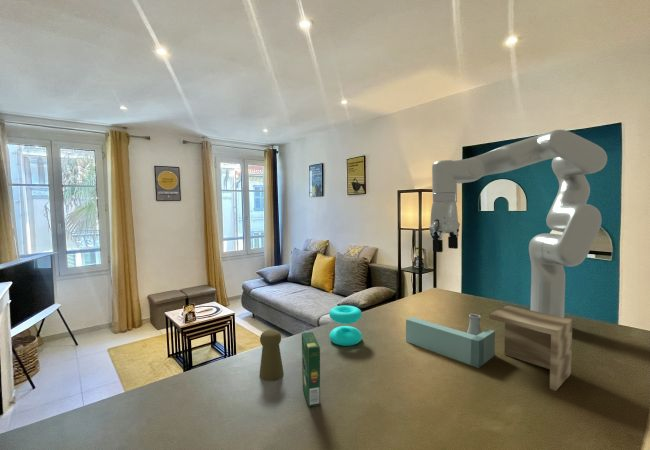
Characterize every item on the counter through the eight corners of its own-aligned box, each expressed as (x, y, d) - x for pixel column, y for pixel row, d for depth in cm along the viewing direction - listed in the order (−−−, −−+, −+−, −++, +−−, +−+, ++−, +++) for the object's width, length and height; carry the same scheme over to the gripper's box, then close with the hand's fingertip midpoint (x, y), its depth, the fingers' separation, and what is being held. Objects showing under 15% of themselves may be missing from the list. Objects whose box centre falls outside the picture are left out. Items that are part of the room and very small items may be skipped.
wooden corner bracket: (506, 353, 91) (507, 305, 90) (570, 374, 80) (572, 319, 79) (488, 365, 84) (488, 314, 83) (555, 390, 73) (557, 330, 72)
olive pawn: (287, 370, 83) (286, 328, 83) (276, 382, 78) (275, 337, 77) (266, 366, 85) (265, 325, 85) (254, 378, 80) (253, 334, 79)
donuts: (365, 306, 103) (356, 316, 94) (365, 336, 104) (356, 349, 95) (335, 302, 107) (324, 312, 98) (336, 332, 108) (324, 344, 99)
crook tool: (423, 333, 106) (424, 312, 106) (494, 355, 90) (494, 331, 89) (405, 341, 100) (406, 319, 99) (478, 368, 83) (478, 341, 83)
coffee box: (321, 406, 68) (320, 345, 67) (308, 408, 67) (307, 347, 67) (314, 385, 76) (313, 331, 75) (302, 387, 75) (301, 332, 75)
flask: (486, 357, 89) (487, 321, 88) (458, 351, 93) (459, 317, 92) (489, 347, 95) (490, 314, 94) (463, 342, 99) (463, 310, 98)
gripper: (447, 198, 116) (448, 246, 117) (419, 199, 104) (421, 252, 105) (468, 197, 110) (469, 247, 111) (441, 198, 99) (442, 254, 100)
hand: (445, 250), depth 108 cm, fingers open, 9 cm apart
